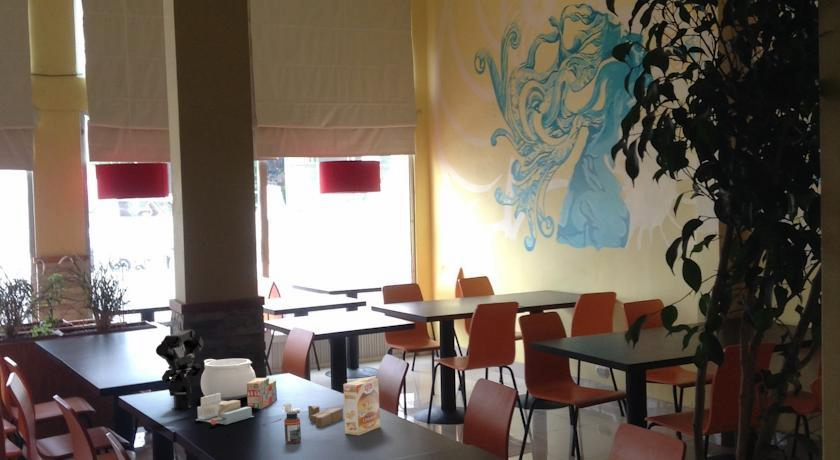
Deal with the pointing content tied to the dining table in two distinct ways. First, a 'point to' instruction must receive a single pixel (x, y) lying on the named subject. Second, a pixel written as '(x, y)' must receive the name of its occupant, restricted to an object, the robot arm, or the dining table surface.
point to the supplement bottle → (292, 428)
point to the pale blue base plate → (231, 416)
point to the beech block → (228, 407)
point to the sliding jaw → (209, 406)
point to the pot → (227, 378)
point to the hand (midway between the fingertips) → (191, 387)
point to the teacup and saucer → (288, 408)
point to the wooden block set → (324, 415)
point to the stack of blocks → (261, 392)
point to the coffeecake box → (361, 406)
